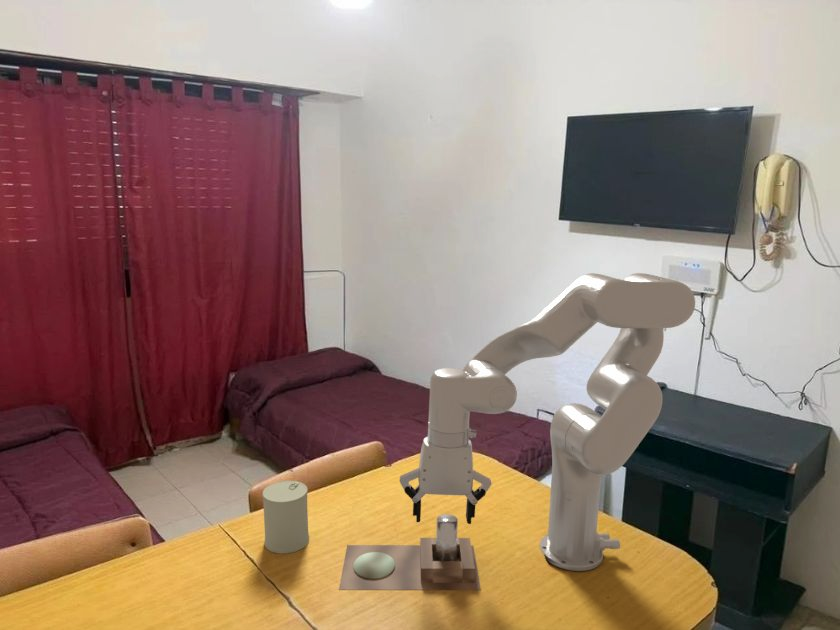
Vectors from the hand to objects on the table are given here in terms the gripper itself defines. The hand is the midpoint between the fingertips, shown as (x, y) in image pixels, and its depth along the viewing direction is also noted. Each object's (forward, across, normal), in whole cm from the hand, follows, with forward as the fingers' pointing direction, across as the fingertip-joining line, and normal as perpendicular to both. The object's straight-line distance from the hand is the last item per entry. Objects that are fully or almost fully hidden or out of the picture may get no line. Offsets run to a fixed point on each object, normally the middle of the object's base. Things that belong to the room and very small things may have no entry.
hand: (443, 519), depth 114 cm
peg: (+10, -1, 0) cm, 10 cm away
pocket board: (+11, +6, 0) cm, 13 cm away
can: (+12, +32, -10) cm, 36 cm away
